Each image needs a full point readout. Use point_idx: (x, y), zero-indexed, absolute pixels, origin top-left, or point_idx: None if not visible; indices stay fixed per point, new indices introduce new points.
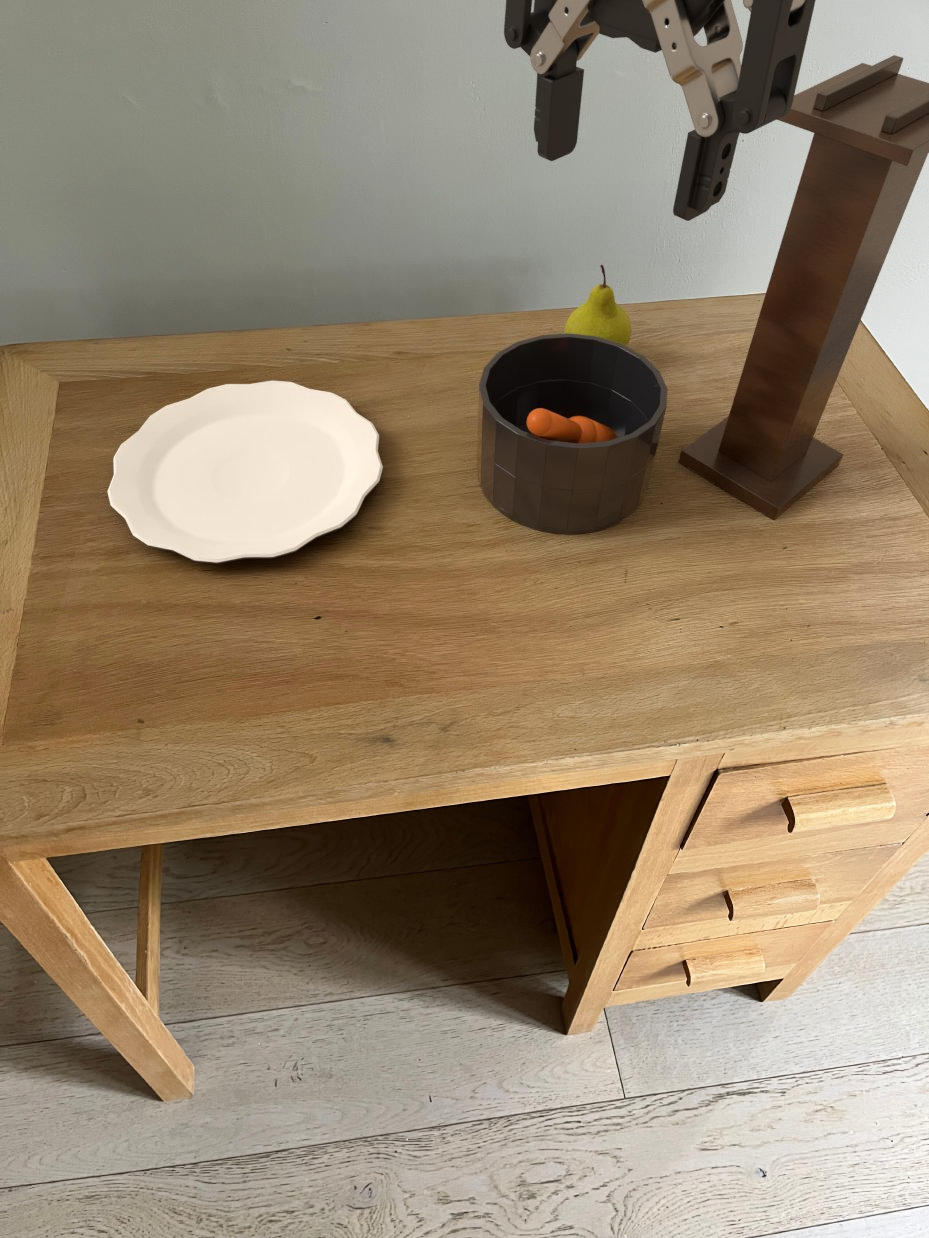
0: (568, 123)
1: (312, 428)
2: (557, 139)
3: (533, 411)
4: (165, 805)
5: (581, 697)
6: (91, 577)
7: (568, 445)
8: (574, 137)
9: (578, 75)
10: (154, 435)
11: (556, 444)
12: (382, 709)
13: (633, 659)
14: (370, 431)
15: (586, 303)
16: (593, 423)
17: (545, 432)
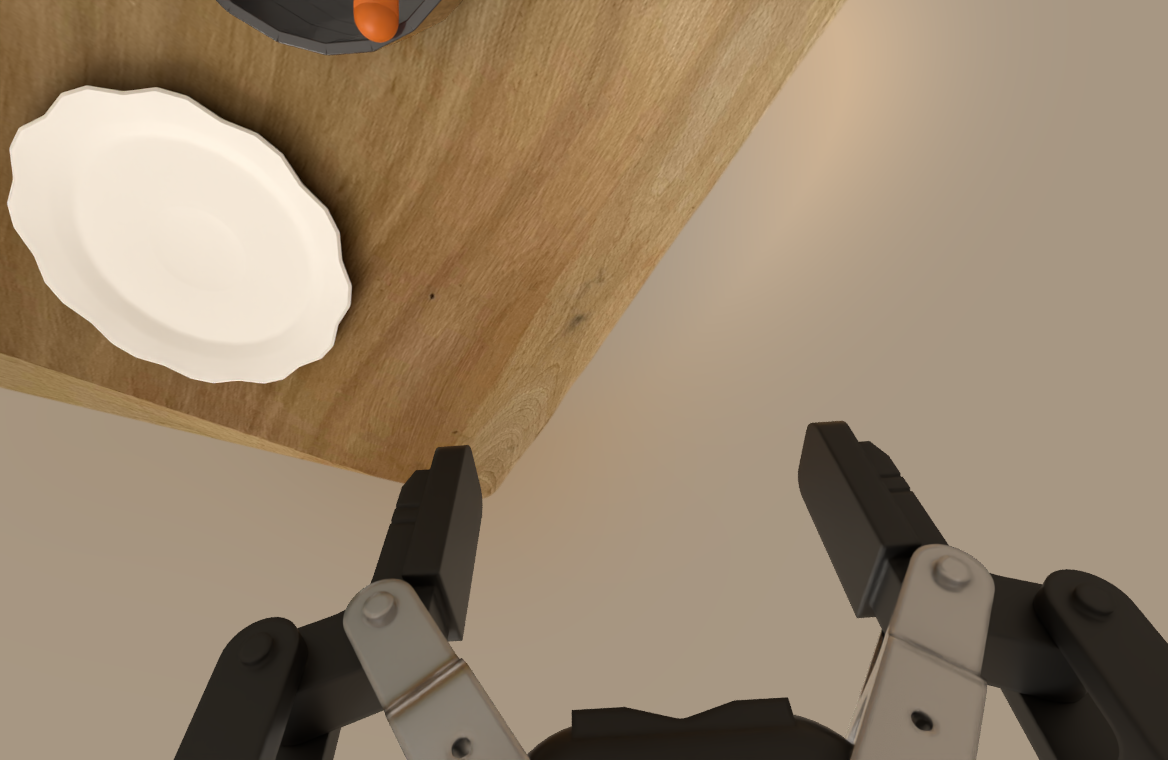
0: (465, 509)
1: (128, 146)
2: (474, 513)
3: (362, 26)
4: (527, 444)
5: (659, 162)
6: (291, 410)
7: (433, 3)
8: (464, 463)
9: (445, 578)
10: (101, 309)
11: (422, 18)
12: (552, 306)
13: (666, 80)
14: (175, 101)
15: None
16: None
17: (398, 24)
